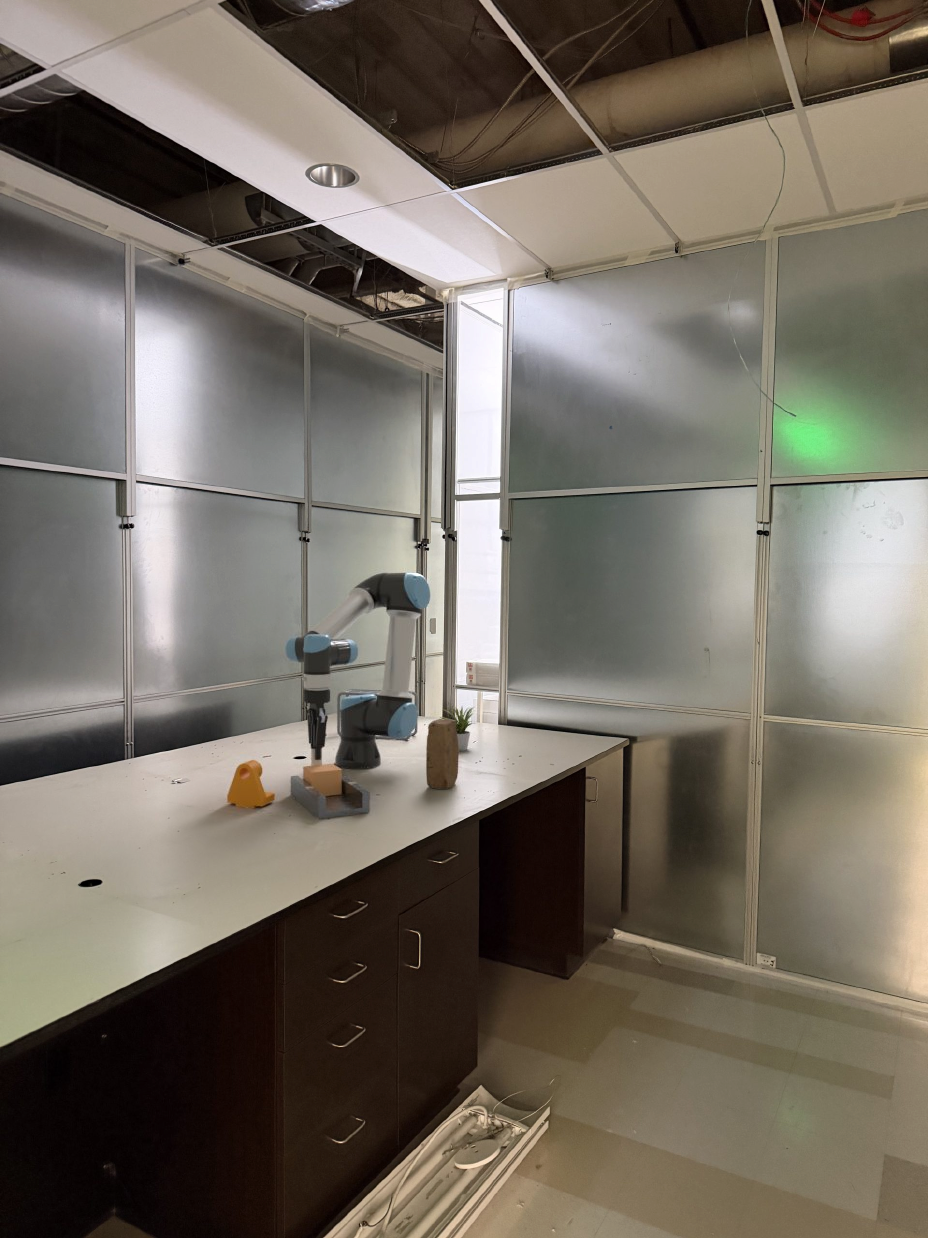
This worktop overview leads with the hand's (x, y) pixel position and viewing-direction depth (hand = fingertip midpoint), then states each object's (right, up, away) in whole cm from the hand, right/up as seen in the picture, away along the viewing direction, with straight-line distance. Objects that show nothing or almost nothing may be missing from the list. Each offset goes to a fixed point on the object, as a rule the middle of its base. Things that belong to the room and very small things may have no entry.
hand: (316, 770), depth 235 cm
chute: (+5, -8, -9) cm, 13 cm away
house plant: (+41, -4, +66) cm, 78 cm away
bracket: (-16, -8, -10) cm, 20 cm away
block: (+36, -7, +12) cm, 38 cm away
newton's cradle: (+8, -3, +88) cm, 89 cm away
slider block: (+2, -6, -4) cm, 7 cm away
